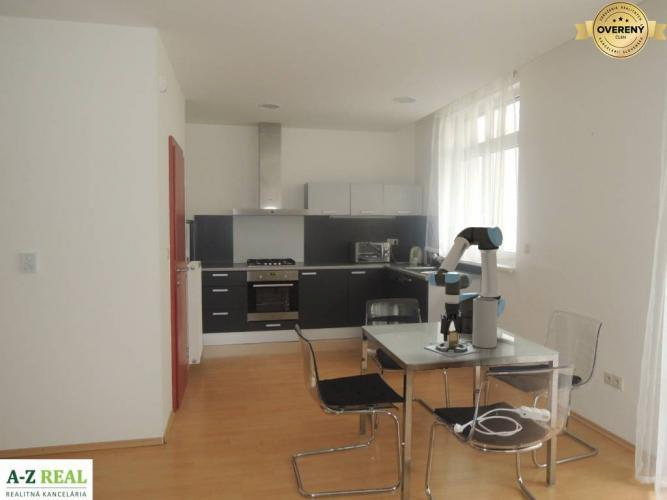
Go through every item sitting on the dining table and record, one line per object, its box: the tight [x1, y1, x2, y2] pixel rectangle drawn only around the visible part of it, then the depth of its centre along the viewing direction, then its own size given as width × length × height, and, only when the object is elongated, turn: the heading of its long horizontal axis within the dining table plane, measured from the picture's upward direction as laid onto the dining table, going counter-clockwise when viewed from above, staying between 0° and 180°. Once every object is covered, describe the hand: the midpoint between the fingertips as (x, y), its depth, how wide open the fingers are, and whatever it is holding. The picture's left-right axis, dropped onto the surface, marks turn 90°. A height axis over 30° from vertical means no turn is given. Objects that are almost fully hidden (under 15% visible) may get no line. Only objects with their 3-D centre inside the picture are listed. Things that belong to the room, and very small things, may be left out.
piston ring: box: [435, 341, 469, 353], centre depth 257 cm, size 16×16×2 cm
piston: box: [448, 329, 458, 348], centre depth 258 cm, size 6×6×8 cm
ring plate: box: [423, 344, 481, 358], centre depth 258 cm, size 20×20×1 cm
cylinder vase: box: [472, 298, 498, 349], centre depth 265 cm, size 12×12×25 cm
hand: (451, 346), depth 257 cm, fingers closed on piston, 6 cm apart
